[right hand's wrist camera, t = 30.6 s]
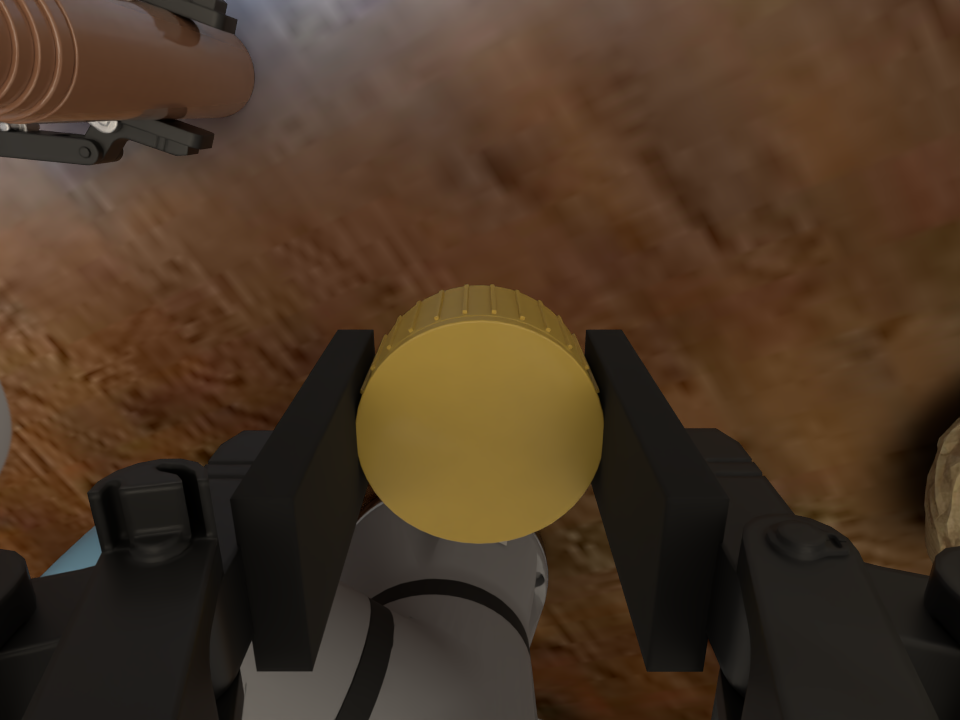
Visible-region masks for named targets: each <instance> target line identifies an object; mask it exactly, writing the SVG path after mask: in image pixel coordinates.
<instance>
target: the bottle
mask: <svg viewBox="0 0 960 720" xmlns="http://www.w3.org/2000/svg"><path fill="white" fill-rule="evenodd" d="M254 78H255V77H254V68H253V63H252V60H251V57H250V55H249V53H248V51H247V49H246V48H245V46H244V45H243V44H242V42H241V41H240V40H239V39H238V38H237V37H236V36H235V35H234V34H231V33H228V32H225V31H222V30H219V29H216V28H213V27H211V26H208V25H205V24H203V23H200V22H197V21H194V20H192V19H189V18H186V17H184V16H181V15H178V14H176V13H173V12H170V11H168V10H166V9H163V8H161V7H158V6H155V5H151V4H148V3H145V2H142V1H139V0H0V122H4V123H9V124H42V123H73V122H104V121H135V120H166V119H197V118H222V117H227V116H230V115H233V114H234V113H236V112H238V111H239V110H240V109H242V108H243V107H244V106H245V104H246V103H247V102H248V100H249V98H250V96H251V94H252V91H253V87H254Z"/></svg>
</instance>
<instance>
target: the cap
mask: <svg viewBox="0 0 960 720" xmlns="http://www.w3.org/2000/svg"><path fill="white" fill-rule="evenodd" d="M360 393H361V394H362V396H361V399H360V402H359V405H358V409H357V415H356V435H357V449H358V457H359V461H360V465H361V467H362V470H363V472H364V474H365V476H366V479H367V480H368V482H369V484H370V485H371V487H372V489H373V490H374V492H375V493H376V494H377V496H378V497H379V498H380V499H381V500H382V502H383V503H384V504H385V505H386V506H387V507H388V508H389V509H390V510H391V511H392V512H393V513H395V514H396V515H397V516H399V517H400V518H401V519H403V520H404V521H405V522H407V523H409V524H410V525H412V526H414V527H416V528H417V529H419V530H421V531H424V532H426V533H428V534H431V535H433V536H436V537H440V538H443V539H446V540H451V541H456V542H462V543H476V544H482V543H497V542H503V541H509V540H513V539H517V538H520V537H524V536H526V535H529V534H531V533H534V532H536V531H538V530H540V529H542V528H544V527H546V526H548V525H550V524H551V523H553V522H554V521H556V520H557V519H558V518H560V517H561V516H563V515H564V514H565V513H566V512H567V511H568V510H569V509H571V508H572V507H573V506H574V505H575V504H576V502H577V501H578V500H579V499H580V498H581V497H582V495H583V494H584V493H585V491H586V490H587V488H588V487H589V485H590V483H591V482H592V480H593V478H594V476H595V474H596V471H597V469H598V466H599V463H600V460H601V455H602V443H603V428H604V416H603V410H602V406H601V403H600V399H599V396H598V394H597V393H600V391H599V388H598V386H597V383H596V381H595V379H594V376H593V374H592V372H591V369H590V367H589V365H588V362H587V360H586V358H585V355H584V354H583V352H582V350H581V347H580V345H579V343H578V340H577V338H576V336H575V334H572V335H571V333H570V331H569V330H568V328H567V327H566V326H565V325H564V323H563V321H562V318H561V317H560V316H559V315H558V316H556V315H555V314H554V313H553V312H552V311H551V310H549V309H548V308H547V307H545V306H544V305H543V303H542V301H540V300H538V301H536V300H534V299H533V298H531V297H529V296H527V295H525V294H522V293H520V291H519V290H515V291H513V290H510V289H506V288H501V287H496V286H494V285H492V284H490V286H484V285H478V286H469V285H468V284H467V285H464V287H459V288H453V289H450V290H447V291H444V290H441V291H439V293H438V294H435V295H433V296H431V297H429V298H427V299H425V300H423V301H422V302H421V301H418V302H417V303H416V306H414V307H413V308H412V309H410V310H409V311H408V312H407V313H406V314H404V315H403V316H401V315H400V316H399V317H398V319H397V322H396V324H395V325H394V327H393V328H392V330H391V331H390V332H389V334H388V335H386V334H385V335H384V337H383V339H382V342H381V344H380V346H379V349H378V351H377V353H376V355H375V357H374V359H373V362H372V364H371V366H370V369H369V371H368V373H367V376H366V378H365V380H364V383H363V385H362V388H361V390H360Z"/></svg>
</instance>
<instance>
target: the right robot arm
mask: <svg viewBox="0 0 960 720" xmlns="http://www.w3.org/2000/svg"><path fill="white" fill-rule="evenodd" d="M374 357H375V348H374V331H373V330H338V331H337V332H336V334H335V335H334V337H333V338H332V340H331V342H330V343H329V345H328V346H327V348H326V349H325V351H324V352H323V354H322V356H321V357H320V359H319V360H318V362H317V363H316V365H315V367H314V368H313V370H312V371H311V373H310V374H309V376H308V377H307V379H306V381H305V382H304V384H303V385H302V387H301V388H300V390H299V392H298V393H297V395H296V396H295V398H294V399H293V401H292V403H291V404H290V406H289V407H288V409H287V410H286V412H285V413H284V415H283V417H282V418H281V420H280V421H279V423H278V424H277V426H276V428H275V429H274V431H242V432H241V433H239V434H238V435H236V436H234V437H233V438H231V439H230V440H228V441H226V442H225V443H223V444H221V445H220V447H219V448H218V449H217V451H216V452H215V453H214V455H213V456H212V457H211V458H210V460H209V461H208V465H205V466H204V467H203V466H201V465H200V464H199V463H197V462H193V461H189V460H184V459H158V460H153V461H148V462H142V463H138V464H135V465H132V466H129V467H126V468H123V469H121V470H118V471H115V472H114V473H112V474H110V475H109V476H107V477H105V478H103V479H102V480H100V481H98V482H97V483H96V484H95V485H94V486H93V487H92V489H91V490H90V491H89V492H88V493H87V494H88V498H89V502H90V507H91V511H92V515H93V519H94V523H95V526H94V527H93V528H92V529H91V530H89V531H88V532H87V533H86V534H85V535H84V536H83V537H82V538H81V539H79V540H78V541H77V542H76V543H75V544H74V545H73V546H72V547H71V548H70V549H69V550H68V551H67V552H65V553H64V554H63V555H62V556H61V557H60V558H59V559H58V560H57V561H56V562H55V563H54V564H53V565H52V566H51V567H50V568H49V569H48V570H47V571H46V572H45V573H44V574H43V575H42V576H41V577H38V578H33V579H31V578H30V575H29V571H28V568H27V565H26V561H25V559H24V558H23V557H22V556H20V555H19V554H18V553H17V552H15V551H10V550H3V549H0V720H538V719H537V710H536V702H535V693H534V684H533V676H532V667H531V659H530V645H531V642H532V639H533V636H534V633H535V630H536V627H537V624H538V621H539V618H540V615H541V612H542V609H543V606H544V602H545V598H546V593H547V587H548V567H547V560H546V554H545V548H544V545H543V541H542V538H541V536H540V534H539V531H536V532H534V533H531V534H529V535H526V536H524V537H520V538H517V539H513V540H509V541H503V542H497V543H482V544H476V543H462V542H456V541H451V540H446V539H443V538H440V537H436V536H433V535H431V534H428V533H426V532H424V531H421V530H419V529H417V528H416V527H414V526H412V525H410V524H409V523H407V522H405V521H404V520H403V519H401V518H400V517H399V516H397V515H396V514H395V513H393V512H392V511H391V510H390V509H389V508H388V507H387V506H386V505H385V504H384V503H383V502H382V500H381V499H380V498H379V497H378V496H377V497H376V498H375V499H373V500H372V501H371V502H370V503H368V504H367V505H366V506H365V507H364V508H363V509H362V510H361V506H362V503H363V500H364V496H365V493H366V489H367V486H368V483H369V482H368V480H367V479H366V476H365V474H364V472H363V470H362V467H361V465H360V461H359V457H358V449H357V435H356V415H357V409H358V405H359V402H360V399H361V396H362V394H361V393H360V390H361V388H362V385H363V383H364V380H365V378H366V376H367V373H368V371H369V369H370V366H371V364H372V362H373V359H374ZM585 358H586V360H587V362H588V365H589V367H590V369H591V372H592V374H593V376H594V379H595V381H596V383H597V386H598V388H599V391H600V393H597V394H598V396H599V399H600V403H601V406H602V410H603V416H604V428H603V443H602V455H601V460H600V463H599V466H598V469H597V471H596V474H595V476H594V478H593V480H592V482H591V484H592V487H593V491H594V494H595V498H596V501H597V504H598V508H599V511H600V514H601V518H602V521H603V525H604V528H605V531H606V535H607V538H608V541H609V545H610V548H611V552H612V555H613V558H614V562H615V565H616V568H617V572H618V575H619V579H620V582H621V585H622V589H623V592H624V595H625V599H626V602H627V606H628V609H629V612H630V616H631V619H632V622H633V626H634V629H635V633H636V636H637V639H638V643H639V646H640V649H641V653H642V656H643V659H644V663H645V666H646V670H647V672H703V667H704V661H705V654H706V648H707V642H708V639H709V641H710V644H711V646H712V648H713V651H714V653H715V655H716V658H717V660H718V662H719V664H720V671H719V677H718V683H717V689H716V695H715V700H714V706H713V712H712V718H711V720H960V546H956V547H950V548H945V549H944V550H942V551H941V552H940V553H938V554H937V555H936V556H935V559H934V563H933V566H932V569H931V573H930V576H927V575H922V574H916V573H911V572H906V571H901V570H896V569H891V568H886V567H881V566H876V565H873V564H869V563H865V562H863V560H862V558H861V556H860V553H859V551H858V550H857V549H856V548H855V546H854V545H853V544H852V543H851V541H850V540H849V539H848V538H847V537H845V536H844V535H842V534H841V533H839V532H838V531H836V530H835V529H833V528H832V527H830V526H828V525H825V524H823V523H820V522H818V521H816V520H813V519H811V518H806V517H802V516H797V515H795V514H794V513H793V512H792V511H791V509H790V508H789V507H788V505H787V504H786V503H785V501H784V500H783V499H782V498H781V496H780V495H779V494H778V492H777V491H776V490H775V489H774V487H773V486H772V485H771V483H770V482H769V481H768V480H767V478H766V477H765V476H762V472H761V471H760V469H759V468H758V467H757V465H756V464H755V463H754V462H752V461H751V460H752V459H751V458H750V456H749V455H748V454H747V452H746V451H745V450H744V449H743V447H742V446H741V445H740V443H739V442H737V441H736V440H734V439H732V438H731V437H729V436H727V435H726V434H724V433H723V432H721V431H719V430H718V429H716V428H684V427H683V425H682V424H681V422H680V420H679V419H678V417H677V416H676V414H675V413H674V411H673V409H672V408H671V406H670V405H669V403H668V402H667V400H666V399H665V397H664V395H663V394H662V392H661V391H660V389H659V388H658V386H657V384H656V383H655V381H654V380H653V378H652V377H651V375H650V374H649V372H648V370H647V369H646V367H645V366H644V364H643V363H642V361H641V359H640V358H639V356H638V355H637V353H636V352H635V350H634V349H633V347H632V345H631V344H630V342H629V341H628V339H627V338H626V336H625V334H624V333H623V331H622V330H586V341H585ZM360 510H361V511H360Z"/></svg>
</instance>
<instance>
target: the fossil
mask: <svg viewBox="0 0 960 720" xmlns="http://www.w3.org/2000/svg"><path fill="white" fill-rule="evenodd" d="M937 448H938V450H937V454H936V456H935V460H934V462H933V464H932V467H931V469H930V471H929V474H928V477H927V484H926V491H925V503H924V506H925V513H926V516H925V543H926V548H927V552H928V555H929V557H930V559H931V561H932V563H934V559H935V556H936V555H937V554H938V553H940V552H941V551H942V550H944V549H945V548H950V547H956V546H960V417H959V418H958V419H957V420H956V421H955V422H954V423H953V424H952V425H951V426H950V427H949V428H948V429H947V430H946V431H945V433H944V434H943V435H942V436H941V437H940V438H939V440H938V443H937Z"/></svg>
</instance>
